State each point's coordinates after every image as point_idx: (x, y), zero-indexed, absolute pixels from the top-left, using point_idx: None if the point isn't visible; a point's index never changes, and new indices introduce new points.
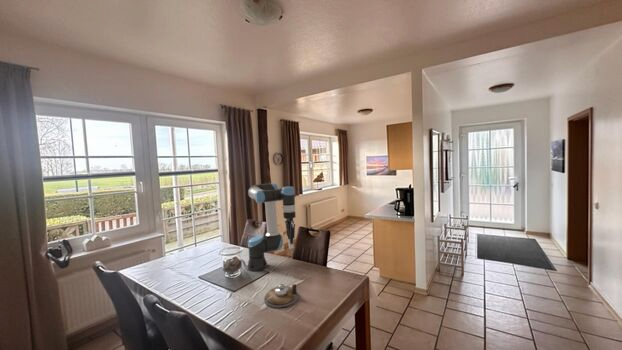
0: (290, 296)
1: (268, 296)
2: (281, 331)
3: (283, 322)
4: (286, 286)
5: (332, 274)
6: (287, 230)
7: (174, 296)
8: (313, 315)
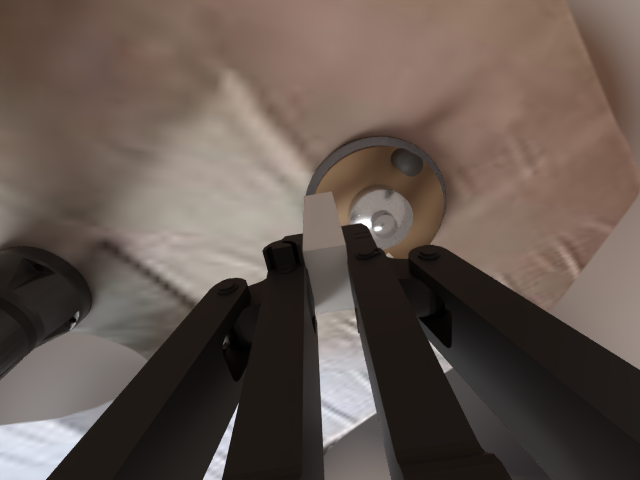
0: (416, 180)
1: None
2: (559, 227)
3: (521, 217)
4: (370, 196)
5: None
6: (218, 427)
7: None
8: (548, 100)
